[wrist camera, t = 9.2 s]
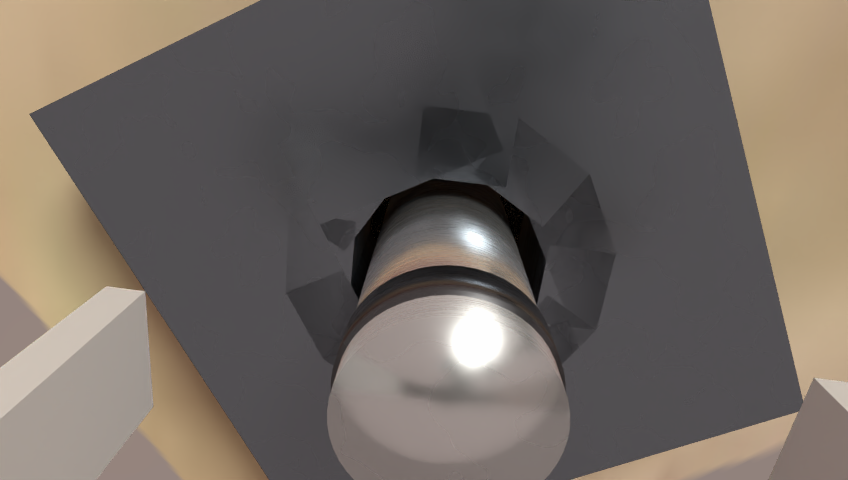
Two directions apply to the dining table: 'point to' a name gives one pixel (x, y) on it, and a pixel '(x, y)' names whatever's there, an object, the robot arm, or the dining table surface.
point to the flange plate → (449, 160)
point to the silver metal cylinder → (447, 350)
